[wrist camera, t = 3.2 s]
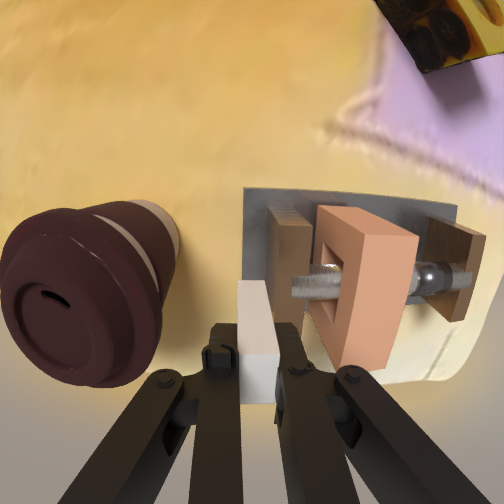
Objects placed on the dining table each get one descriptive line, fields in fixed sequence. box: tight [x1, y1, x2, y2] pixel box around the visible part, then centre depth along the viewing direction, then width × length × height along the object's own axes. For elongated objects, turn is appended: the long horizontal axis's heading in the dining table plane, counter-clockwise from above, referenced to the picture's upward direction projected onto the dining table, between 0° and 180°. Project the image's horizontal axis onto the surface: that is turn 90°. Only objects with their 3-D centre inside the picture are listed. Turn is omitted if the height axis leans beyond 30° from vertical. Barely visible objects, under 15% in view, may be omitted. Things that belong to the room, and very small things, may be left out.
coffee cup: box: [0, 200, 179, 388], centre depth 17 cm, size 10×10×15 cm
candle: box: [375, 0, 504, 74], centre depth 14 cm, size 10×10×10 cm
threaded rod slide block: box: [242, 187, 486, 338], centre depth 22 cm, size 22×11×8 cm, turn 89°
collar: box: [308, 205, 419, 372], centre depth 19 cm, size 4×9×9 cm, turn 179°
